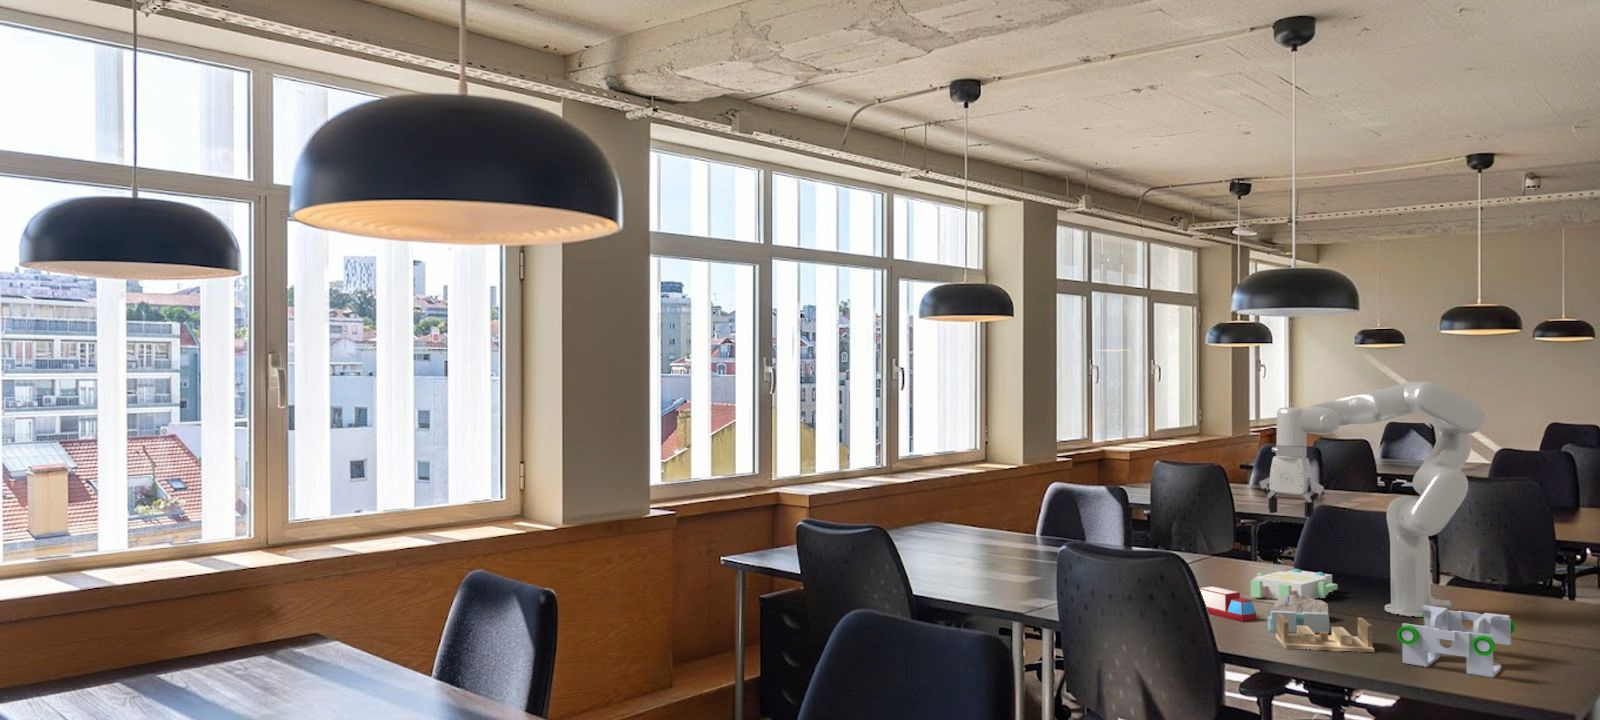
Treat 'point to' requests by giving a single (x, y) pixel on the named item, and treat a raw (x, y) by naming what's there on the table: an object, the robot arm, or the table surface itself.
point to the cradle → (1325, 637)
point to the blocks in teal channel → (1301, 621)
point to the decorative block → (1292, 584)
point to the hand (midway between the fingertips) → (1290, 514)
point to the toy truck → (1228, 604)
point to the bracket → (1456, 638)
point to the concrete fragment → (1300, 604)
